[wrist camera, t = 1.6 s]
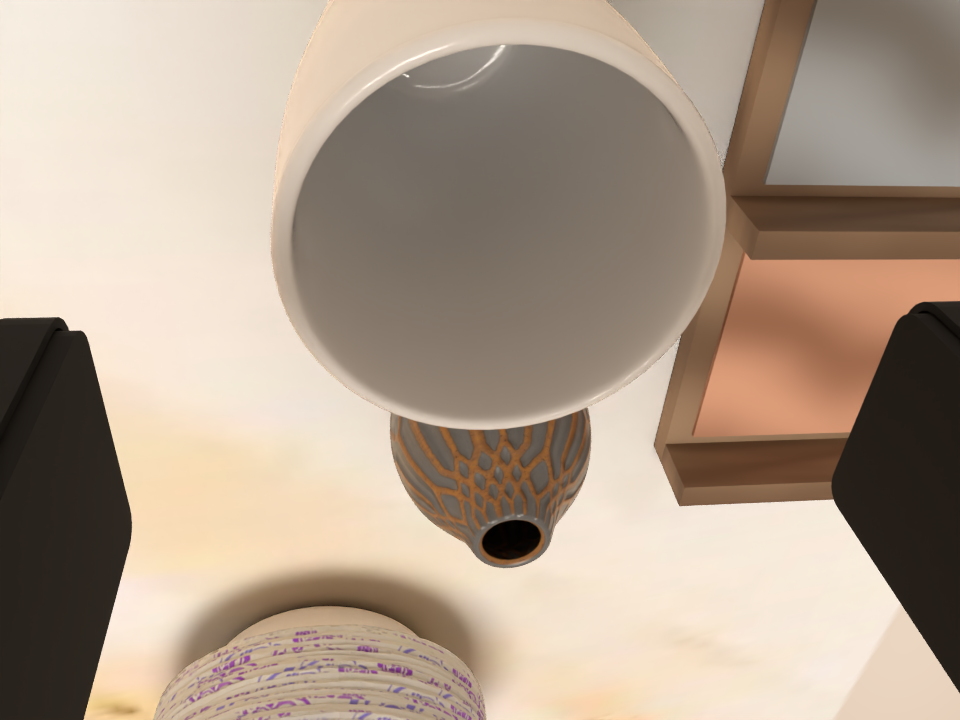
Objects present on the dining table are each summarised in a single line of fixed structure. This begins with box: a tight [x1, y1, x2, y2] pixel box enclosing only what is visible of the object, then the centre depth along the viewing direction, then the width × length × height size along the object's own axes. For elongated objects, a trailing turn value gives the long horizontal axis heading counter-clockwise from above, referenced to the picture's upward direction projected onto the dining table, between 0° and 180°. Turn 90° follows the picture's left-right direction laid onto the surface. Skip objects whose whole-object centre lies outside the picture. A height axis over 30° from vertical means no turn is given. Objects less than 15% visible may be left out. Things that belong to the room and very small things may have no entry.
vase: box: [390, 407, 591, 568], centre depth 29 cm, size 7×7×9 cm
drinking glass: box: [270, 0, 726, 430], centre depth 18 cm, size 7×7×15 cm
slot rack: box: [654, 0, 960, 506], centre depth 28 cm, size 23×11×4 cm, turn 176°
